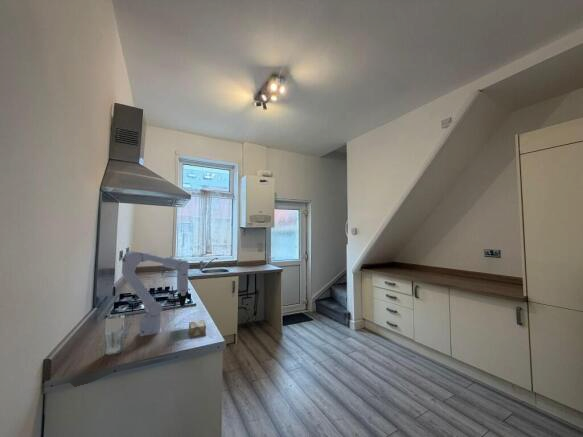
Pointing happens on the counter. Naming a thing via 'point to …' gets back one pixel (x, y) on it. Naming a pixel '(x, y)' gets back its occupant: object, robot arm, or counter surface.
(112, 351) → the beer glass
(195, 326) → the mottled beige block
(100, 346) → the counter surface
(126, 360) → the counter surface
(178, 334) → the rubber mat
